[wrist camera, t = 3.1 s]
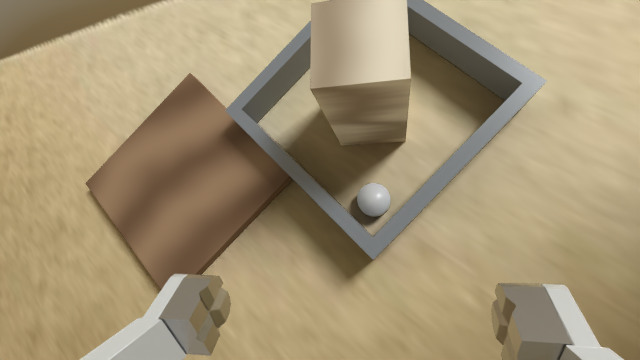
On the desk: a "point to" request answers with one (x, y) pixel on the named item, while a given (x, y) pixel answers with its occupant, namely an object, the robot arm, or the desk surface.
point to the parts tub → (374, 198)
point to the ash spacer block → (362, 68)
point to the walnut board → (186, 183)
